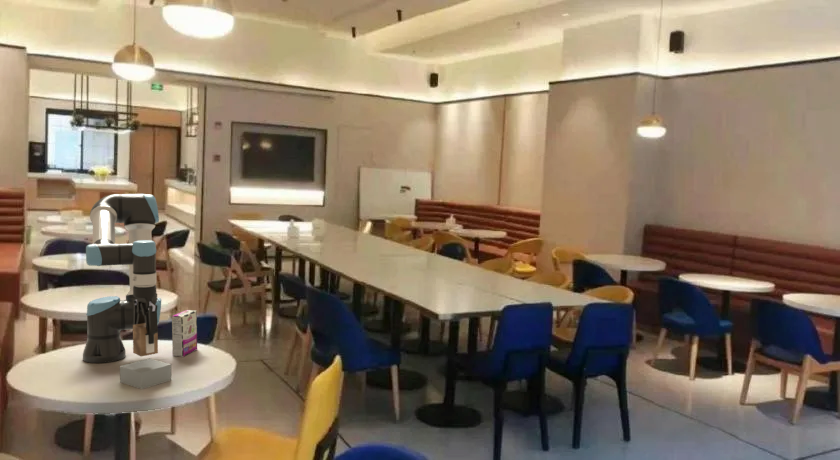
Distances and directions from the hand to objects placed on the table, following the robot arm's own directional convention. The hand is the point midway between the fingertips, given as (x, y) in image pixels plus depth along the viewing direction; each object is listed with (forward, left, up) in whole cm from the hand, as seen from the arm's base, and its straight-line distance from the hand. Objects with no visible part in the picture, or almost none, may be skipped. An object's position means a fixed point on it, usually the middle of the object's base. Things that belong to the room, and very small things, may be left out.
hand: (145, 350), depth 241 cm
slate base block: (0, 0, -11) cm, 11 cm away
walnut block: (0, 0, -1) cm, 1 cm away
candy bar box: (-23, +27, -11) cm, 37 cm away
